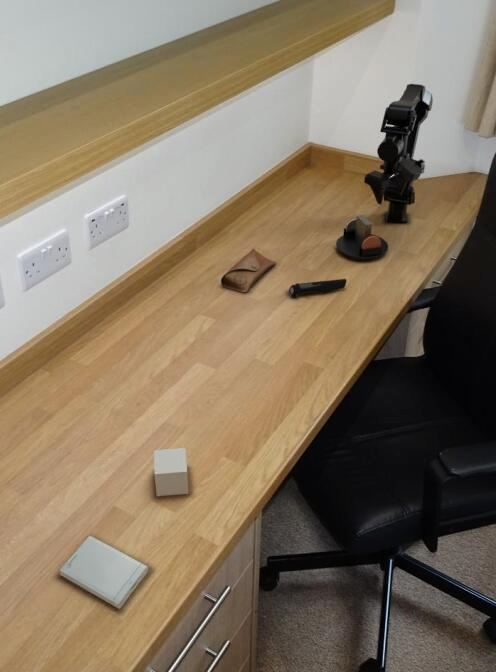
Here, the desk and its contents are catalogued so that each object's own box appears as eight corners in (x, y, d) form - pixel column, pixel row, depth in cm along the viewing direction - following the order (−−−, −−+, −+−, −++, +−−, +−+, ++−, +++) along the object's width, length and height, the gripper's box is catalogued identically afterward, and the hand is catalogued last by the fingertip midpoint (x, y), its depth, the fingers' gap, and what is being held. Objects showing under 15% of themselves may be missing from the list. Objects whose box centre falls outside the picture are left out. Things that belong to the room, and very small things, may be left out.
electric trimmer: (347, 292, 189) (348, 282, 187) (291, 298, 186) (292, 288, 185) (343, 285, 192) (344, 275, 190) (288, 291, 190) (288, 281, 188)
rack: (348, 263, 199) (350, 235, 194) (328, 238, 211) (330, 212, 206) (396, 255, 202) (400, 227, 197) (374, 231, 214) (377, 205, 209)
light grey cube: (188, 493, 132) (187, 471, 129) (156, 496, 132) (154, 474, 129) (186, 469, 137) (185, 447, 134) (156, 472, 137) (153, 450, 134)
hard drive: (58, 569, 117) (118, 603, 112) (90, 534, 123) (147, 564, 118) (60, 576, 118) (119, 610, 113) (91, 540, 124) (148, 570, 119)
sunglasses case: (248, 292, 189) (236, 271, 187) (228, 297, 193) (217, 277, 192) (277, 262, 201) (267, 242, 200) (258, 268, 206) (248, 248, 204)
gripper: (398, 166, 187) (391, 218, 195) (440, 147, 197) (432, 198, 205) (365, 154, 194) (360, 205, 202) (407, 137, 204) (400, 186, 212)
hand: (389, 199), depth 205 cm, fingers open, 9 cm apart
